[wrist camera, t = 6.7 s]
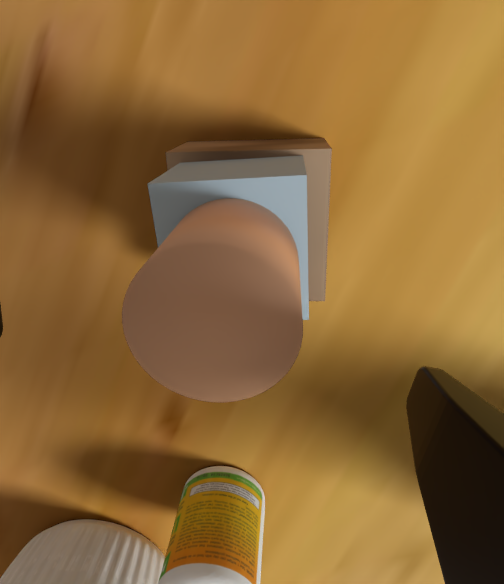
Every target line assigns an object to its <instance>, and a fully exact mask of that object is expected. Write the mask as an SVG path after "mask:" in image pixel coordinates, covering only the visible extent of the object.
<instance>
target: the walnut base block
mask: <svg viewBox="0 0 504 584" xmlns="http://www.w3.org/2000/svg"><path fill="white" fill-rule="evenodd" d="M331 151H332V148H331V147H330V146H329V144H328V143H327V142H326V140H325V139H324V138H309V139H269V140H229V141H189V142H186V143H184V144H182V145H180V146H178V147H176V148H174V149H172V150H169V151H167V152H166V161H167V170H170V169H171V168H173V167H174V166H176V165H177V164H179V163H184V162H201V161H218V160H234V159H251V158H268V157H285V156H301V155H303V158H304V163H305V169H306V174H307V225H308V291H309V301H325V289H326V266H327V243H328V220H329V197H330V174H331Z"/></svg>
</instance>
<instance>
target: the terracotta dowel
mask: <svg viewBox="0 0 504 584" xmlns="http://www.w3.org/2000/svg"><path fill="white" fill-rule="evenodd" d="M122 324H123V330H124V334H125V338H126V341H127V344H128V346H129V348H130V350H131V352H132V354H133V355H134V357H135V358H136V360H137V362H138V363H139V364H140V365H141V366H142V368H143V369H144V370H145V371H146V372H147V373H148V374H149V375H150V376H151V377H152V378H154V379H155V380H156V381H157V382H159V383H160V384H161V385H163V386H165V387H166V388H168V389H170V390H172V391H174V392H176V393H178V394H180V395H183V396H186V397H189V398H192V399H196V400H200V401H207V402H233V401H239V400H244V399H247V398H250V397H253V396H256V395H258V394H260V393H262V392H264V391H266V390H268V389H269V388H271V387H272V386H274V385H275V384H276V383H277V382H279V381H280V380H281V379H282V378H283V377H284V376H285V375H286V374H287V372H288V371H289V370H290V368H291V367H292V365H293V364H294V362H295V360H296V358H297V356H298V353H299V350H300V347H301V343H302V337H303V318H302V302H301V286H300V270H299V257H298V250H297V247H296V243H295V241H294V238H293V236H292V234H291V233H290V231H289V229H288V228H287V226H286V225H285V224H284V223H283V221H282V220H281V219H280V218H279V217H278V216H276V215H275V214H274V213H273V212H271V211H270V210H269V209H267V208H265V207H263V206H261V205H259V204H257V203H254V202H251V201H248V200H244V199H236V198H224V199H217V200H213V201H210V202H206V203H204V204H202V205H200V206H198V207H196V208H195V209H193V210H192V211H190V212H189V213H188V214H187V215H186V216H185V217H184V218H183V219H182V220H181V221H180V222H179V223H178V225H177V226H176V227H175V228H174V229H173V231H172V232H171V233H170V234H169V235H168V237H167V238H166V239H165V240H164V241H163V243H162V244H161V245H160V246H159V247H158V249H157V250H156V251H155V252H154V253H153V255H152V256H151V257H150V258H149V259H148V261H147V262H146V263H145V264H144V265H143V267H142V268H141V269H140V270H139V271H138V273H137V274H136V275H135V277H134V278H133V280H132V281H131V283H130V285H129V287H128V289H127V292H126V295H125V298H124V302H123V309H122Z"/></svg>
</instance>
